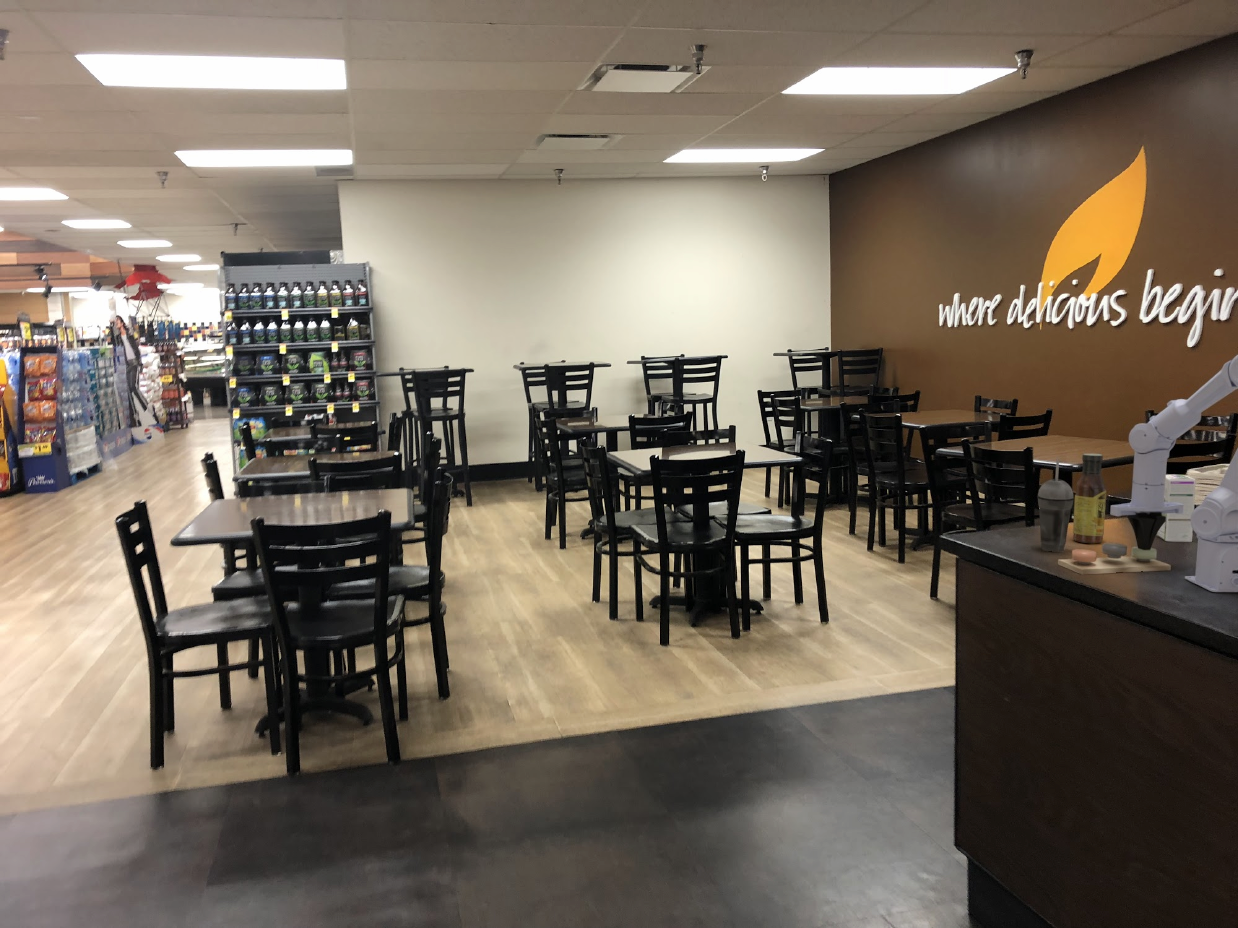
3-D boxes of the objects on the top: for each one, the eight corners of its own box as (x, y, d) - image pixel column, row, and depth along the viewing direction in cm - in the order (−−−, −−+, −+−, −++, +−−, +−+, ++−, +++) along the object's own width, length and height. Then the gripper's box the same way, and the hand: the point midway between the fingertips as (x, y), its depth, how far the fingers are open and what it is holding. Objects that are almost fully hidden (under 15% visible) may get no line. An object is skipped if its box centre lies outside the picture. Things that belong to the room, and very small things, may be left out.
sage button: (1146, 557, 192) (1146, 546, 191) (1160, 562, 187) (1161, 551, 187) (1126, 558, 191) (1126, 546, 191) (1140, 563, 187) (1141, 552, 186)
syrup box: (1192, 542, 209) (1198, 478, 207) (1164, 541, 210) (1168, 477, 208) (1183, 536, 214) (1187, 474, 212) (1154, 535, 215) (1159, 473, 213)
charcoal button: (1117, 553, 191) (1117, 542, 190) (1131, 559, 186) (1132, 547, 186) (1097, 554, 190) (1097, 543, 190) (1110, 560, 186) (1111, 548, 185)
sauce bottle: (1102, 545, 207) (1108, 457, 204) (1071, 542, 210) (1076, 455, 207) (1103, 539, 212) (1109, 453, 209) (1073, 537, 215) (1078, 451, 212)
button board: (1143, 560, 194) (1143, 555, 194) (1170, 570, 186) (1170, 565, 186) (1057, 564, 191) (1058, 559, 191) (1081, 574, 183) (1082, 569, 183)
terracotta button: (1087, 560, 190) (1087, 548, 190) (1100, 565, 186) (1101, 553, 185) (1067, 561, 190) (1067, 549, 189) (1080, 566, 185) (1081, 554, 185)
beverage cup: (1033, 551, 202) (1037, 460, 199) (1035, 544, 209) (1040, 456, 206) (1070, 555, 199) (1075, 462, 196) (1071, 547, 205) (1077, 457, 202)
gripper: (1167, 478, 192) (1163, 543, 194) (1102, 481, 190) (1098, 546, 192) (1192, 484, 185) (1187, 551, 187) (1125, 486, 183) (1120, 554, 185)
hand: (1144, 549), depth 189 cm, fingers closed, pressing on sage button
